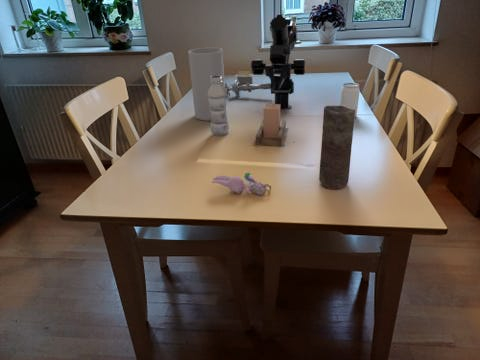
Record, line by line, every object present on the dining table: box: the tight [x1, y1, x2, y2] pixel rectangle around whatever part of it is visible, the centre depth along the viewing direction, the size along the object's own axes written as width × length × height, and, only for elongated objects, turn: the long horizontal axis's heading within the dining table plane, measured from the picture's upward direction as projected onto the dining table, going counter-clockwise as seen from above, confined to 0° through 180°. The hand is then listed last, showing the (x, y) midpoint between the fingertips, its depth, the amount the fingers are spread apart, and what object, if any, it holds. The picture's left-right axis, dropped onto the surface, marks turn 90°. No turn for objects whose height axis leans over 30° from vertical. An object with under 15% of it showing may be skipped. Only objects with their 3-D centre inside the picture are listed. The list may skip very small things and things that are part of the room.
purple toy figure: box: [211, 172, 272, 197], centre depth 88 cm, size 6×6×15 cm
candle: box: [318, 105, 356, 190], centre depth 86 cm, size 8×7×20 cm
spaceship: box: [224, 79, 271, 98], centre depth 161 cm, size 8×35×8 cm
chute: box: [252, 119, 289, 148], centre depth 117 cm, size 16×10×4 cm, turn 168°
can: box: [339, 82, 361, 118], centre depth 131 cm, size 6×6×12 cm
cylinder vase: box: [188, 47, 226, 122], centre depth 135 cm, size 12×12×25 cm
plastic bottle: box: [208, 76, 230, 137], centre depth 118 cm, size 6×7×20 cm
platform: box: [234, 70, 255, 85], centre depth 183 cm, size 12×18×7 cm, turn 78°
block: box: [262, 103, 281, 138], centre depth 116 cm, size 5×5×10 cm
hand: (276, 88), depth 122 cm, fingers closed
